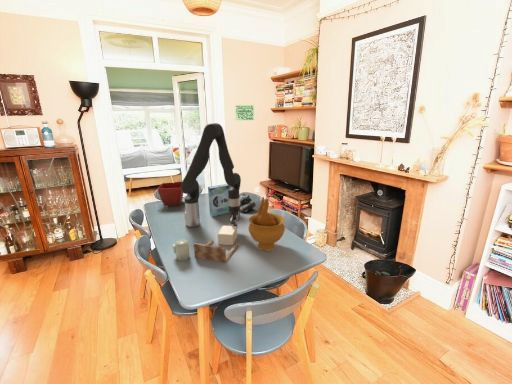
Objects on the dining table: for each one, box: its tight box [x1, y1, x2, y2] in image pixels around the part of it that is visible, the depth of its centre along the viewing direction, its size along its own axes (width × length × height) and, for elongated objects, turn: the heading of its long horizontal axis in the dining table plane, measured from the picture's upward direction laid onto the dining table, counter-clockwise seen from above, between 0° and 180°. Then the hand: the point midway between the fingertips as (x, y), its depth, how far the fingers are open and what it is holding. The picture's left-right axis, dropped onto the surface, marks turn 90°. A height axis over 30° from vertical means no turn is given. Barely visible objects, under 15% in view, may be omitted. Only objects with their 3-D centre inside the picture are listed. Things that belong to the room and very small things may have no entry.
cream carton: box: [217, 225, 238, 246], centre depth 159 cm, size 9×12×7 cm
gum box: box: [207, 183, 231, 218], centre depth 200 cm, size 20×5×23 cm, turn 123°
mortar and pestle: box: [248, 196, 286, 251], centre depth 148 cm, size 21×21×30 cm
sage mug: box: [172, 239, 191, 262], centre depth 140 cm, size 8×7×9 cm
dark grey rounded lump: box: [239, 193, 257, 214], centre depth 209 cm, size 15×12×14 cm
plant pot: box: [157, 182, 184, 207], centre depth 224 cm, size 19×19×17 cm
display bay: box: [193, 239, 239, 263], centre depth 146 cm, size 18×19×8 cm
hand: (235, 229), depth 170 cm, fingers closed
